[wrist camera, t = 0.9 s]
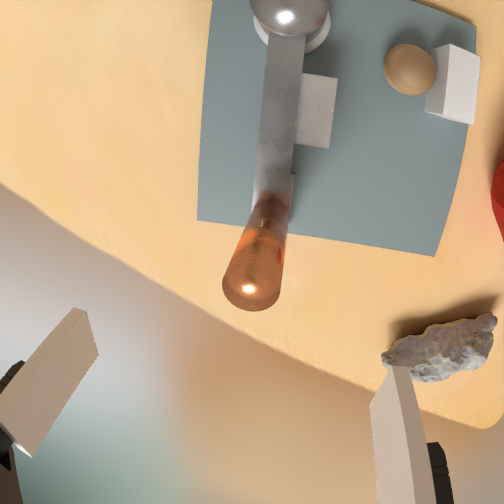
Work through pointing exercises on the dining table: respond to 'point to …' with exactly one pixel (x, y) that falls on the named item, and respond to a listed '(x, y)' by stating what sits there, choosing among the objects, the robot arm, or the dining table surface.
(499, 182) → the apple
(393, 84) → the light brown ball
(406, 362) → the mineral specimen
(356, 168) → the board
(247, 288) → the lever
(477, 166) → the dining table surface
